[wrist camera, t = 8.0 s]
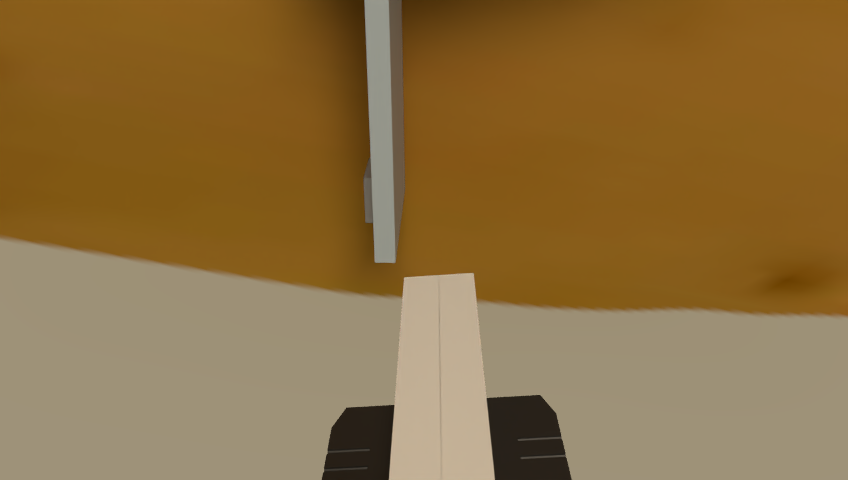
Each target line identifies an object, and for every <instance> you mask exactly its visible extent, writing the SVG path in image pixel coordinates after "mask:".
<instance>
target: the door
mask: <svg viewBox="0 0 848 480" xmlns="http://www.w3.org/2000/svg"><path fill="white" fill-rule="evenodd" d="M364 2H365V27H366V52H367V77H368V102H369V127H370V152H371V158H369V160H368V164H367V168H366V171H365V175H364V199H365V221H366V223H373V227H374V252H375V263H396V255H397V247H398V239H399V232H400V224H401V216H402V208H403V201H404V193H405V163H404V108H403V52H402V0H364Z"/></svg>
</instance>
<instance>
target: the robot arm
mask: <svg viewBox="0 0 848 480" xmlns="http://www.w3.org/2000/svg"><path fill="white" fill-rule="evenodd" d="M565 456H566V455H565V450H564V445H563V441H562V439H561V433H560V428H559V424H558V420H557V415H556V413H555V412H554V411H553V409H552V408H551V407H550V406H549V405H548V404H547V402H546V401H545V400H544V399H543V398H542V397H541V396H540V395H532V396H515V397H497V398H486V389H485V379H484V370H483V360H482V351H481V341H480V331H479V322H478V313H477V302H476V293H475V283H474V273H466V274H450V275H435V276H419V277H404V287H403V301H402V313H401V327H400V340H399V354H398V366H397V380H396V393H395V405H388V406H369V407H351V408H346V409H345V411H344V412H343V413H342V415H341V416H340V417H339V419H338V420H337V421H336V423H335V424H334V425H333V427H332V430H331V434H330V439H329V445H328V454H327V456H326V461H325V466H324V473H323V477H322V480H571V475H570V471H569V467H568V462H567V458H566V457H565Z"/></svg>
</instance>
